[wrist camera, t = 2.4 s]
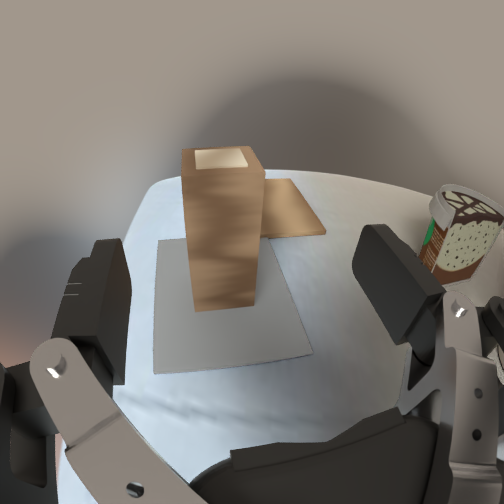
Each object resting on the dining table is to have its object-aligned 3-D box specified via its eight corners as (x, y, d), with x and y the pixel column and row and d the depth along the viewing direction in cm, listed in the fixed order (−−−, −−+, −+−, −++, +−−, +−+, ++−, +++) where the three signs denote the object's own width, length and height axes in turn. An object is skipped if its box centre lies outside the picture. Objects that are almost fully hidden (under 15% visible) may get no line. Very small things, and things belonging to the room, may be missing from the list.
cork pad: (289, 182, 45) (290, 178, 44) (325, 234, 34) (326, 230, 34) (211, 185, 43) (211, 181, 42) (222, 241, 32) (222, 237, 32)
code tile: (265, 233, 34) (265, 231, 34) (312, 354, 21) (313, 353, 21) (158, 241, 31) (158, 240, 31) (154, 374, 19) (153, 373, 19)
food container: (451, 248, 34) (478, 185, 28) (476, 278, 29) (511, 212, 23) (385, 256, 32) (412, 177, 25) (412, 294, 27) (451, 211, 21)
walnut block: (243, 267, 29) (249, 144, 21) (254, 305, 25) (265, 169, 17) (191, 271, 28) (182, 147, 20) (194, 312, 24) (181, 174, 16)
